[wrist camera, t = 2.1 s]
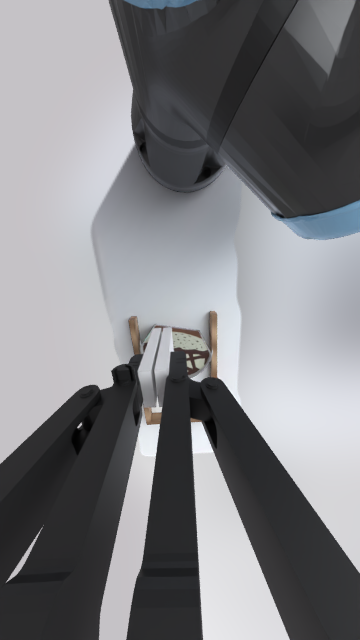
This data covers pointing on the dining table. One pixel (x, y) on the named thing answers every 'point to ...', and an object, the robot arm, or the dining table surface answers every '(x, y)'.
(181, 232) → the dining table surface
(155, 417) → the slot rails
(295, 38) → the robot arm
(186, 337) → the food container
